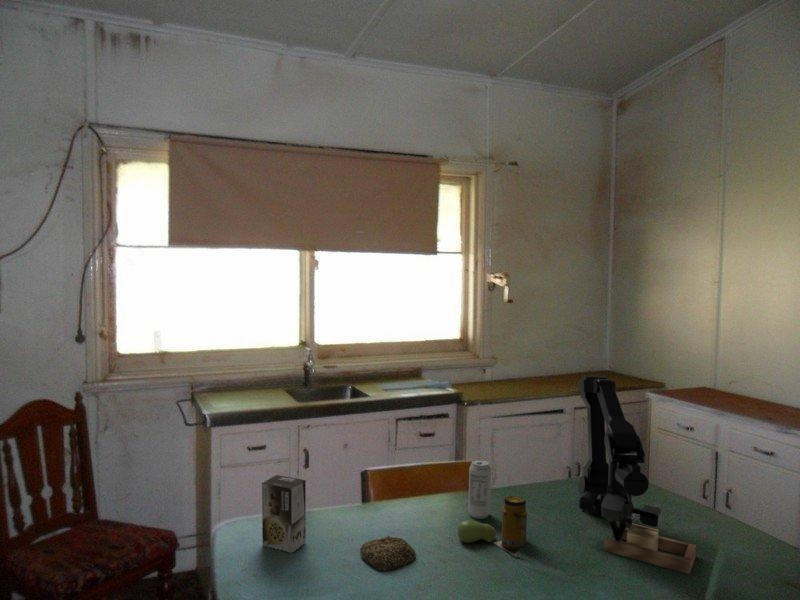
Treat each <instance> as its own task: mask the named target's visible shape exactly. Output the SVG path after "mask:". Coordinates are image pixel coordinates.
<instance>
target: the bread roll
mask: <svg viewBox="0 0 800 600" xmlns="http://www.w3.org/2000/svg"><path fill="white" fill-rule="evenodd" d="M359 552H360V555H361V558H362V559H363V560H365V562H366V563H367V564H369V565H371V566H373V568H375V569H376V570H379V571H390V570H394V569H398V568H401V567H402V568H403V567H405V566H406V565H407V564H409V563H412V562H413V561H414V560H415V559H416V550H415V549H414V548H413V547H412V546H411V545H410V544H409V542H407V541H406V540H405V539H403V538H401V537H393V536H390V535H388V536H384V537H381V538H376V539H373V540H367V541H365V542H363V544H362V545H361V547H360V551H359Z"/></svg>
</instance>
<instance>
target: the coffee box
mask: <svg viewBox="0 0 800 600" xmlns="http://www.w3.org/2000/svg"><path fill="white" fill-rule="evenodd" d="M306 482H307V481H306V480H305V479H302V478H295V477H290V476H285V475H278V474H276V475H274V476H272V477H270V478H268V479H267V480H265V481H263V482H261V508H262V510H261V511H262V512H261V516H262V517H261V518H262V519H261V520H262V522H261V523H262V526H261V527H262V531H261V532H262V547H265V546H267V547H266V548H269V547H272V548H271V549H273V548H275V549H274V550H277V549H279V550H278V551H281V550H283V551H282V552H285V551H286V552H287V553H291V554H293V553H294V552H295V551H297V550H299V549H300V548H301V547H302V546H304V545H305V544H306V543H305V542H306V539H307V538H306V529H307V528H306V525H307V524H306V516H307V515H306V513H307V512H306V498H307V497H306V492H307V491H306V488H307V487H306ZM304 543H305V544H304ZM303 544H304V545H303ZM301 545H302V546H301ZM300 546H301V547H300ZM299 547H300V548H299ZM296 549H297V550H296Z"/></svg>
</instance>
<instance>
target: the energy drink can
mask: <svg viewBox="0 0 800 600" xmlns="http://www.w3.org/2000/svg"><path fill="white" fill-rule="evenodd" d="M468 471H469V472H468V473H469V477H468V509H467V510H468V513H469V515H470V516H471V518H473V519H479V520H481V519H487V518H488V517H489V515H490V514H491V491H492V486H491V485H492V468H491V466H490V462H489V461H488V460H483V459H474V460H472V461H471V464H470V466H469V469H468Z"/></svg>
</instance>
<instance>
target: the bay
mask: <svg viewBox="0 0 800 600" xmlns="http://www.w3.org/2000/svg"><path fill="white" fill-rule="evenodd" d="M628 529H630V527H629V528H628V527H626V529H625V531H624V534H623V536H622V539H621V541H616V540H615V539H611V538H608V537H604V539H603V549H602V550H603V551H604V552H608V553H611V554H614V555H619V556H623V557H626V558H629V559H633V560H636V561H640V562H645V563H648V564H651V565H655V566H659V567H663V568H666V569H670V570H674V571H677V572H681V573H684V574H689V575H690V574H691V572H692V569H693V566H694V563H695V559H696V557H697V555H696V554H697V544H694V543H689V542H686V541H681V540H676V539H672V538H669V537H665V536H661V535H658V551H655V550H651V549H647V548H643V547H639V546H636V545H632V544H628V543H627V532H628ZM612 538H615V537H614V534H613V533H612ZM622 540H623V541H622ZM624 541H626V542H624ZM659 550H661V551H659ZM662 551H666V552H670V553H672V554H669V553H666V552H662ZM674 554H677V555H680V556H683V557H680V556H677V555H674Z"/></svg>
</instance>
